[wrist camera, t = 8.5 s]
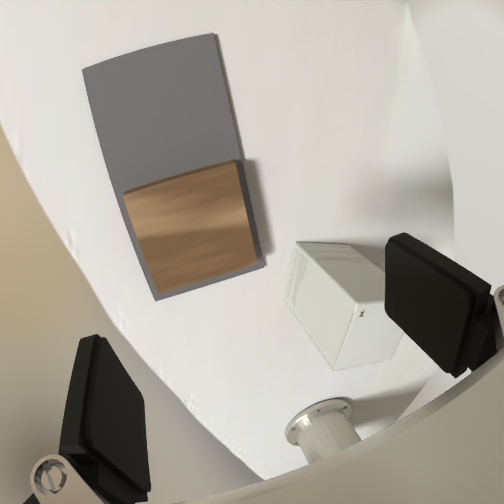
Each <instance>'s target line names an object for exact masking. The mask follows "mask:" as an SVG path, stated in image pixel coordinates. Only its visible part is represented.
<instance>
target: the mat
mask: <svg viewBox="0 0 504 504" xmlns="http://www.w3.org/2000/svg"><path fill="white" fill-rule="evenodd" d="M82 72H83V77H84V82H85V86H86V91H87V95H88V99H89V104H90V108H91V112H92V116H93V120H94V124H95V128H96V131H97V135H98V139H99V142H100V146H101V150H102V153H103V157H104V160H105V163H106V167H107V170H108V173H109V177H110V180H111V183H112V186H113V189H114V192H115V195H116V199H117V202H118V205H119V208H120V210H121V213H122V216H123V219H124V222H125V225H126V228H127V230H128V233H129V236H130V239H131V241H132V244H133V247H134V249H135V252H136V255H137V257H138V260H139V263H140V265H141V268H142V270H143V273H144V275H145V278H146V280H147V283H148V285H149V287H150V290H151V292H152V295H153V297H154V299H155V301H158V300H162V299H165V298H168V297H172V296H175V295H178V294H181V293H185V292H188V291H191V290H194V289H197V288H201V287H204V286H207V285H210V284H214V283H217V282H220V281H223V280H226V279H229V278H233V277H236V276H239V275H242V274H245V273H248V272H252V271H255V270H258V269H261V268H264V263H263V258H262V253H261V248H260V244H259V239H258V234H257V229H256V225H255V220H254V215H253V211H252V206H251V201H250V196H249V192H248V187H247V182H246V178H245V173H244V169H243V164H242V159H241V155H240V150H239V145H238V141H237V136H236V132H235V127H234V123H233V118H232V113H231V109H230V104H229V100H228V95H227V91H226V86H225V82H224V77H223V73H222V68H221V64H220V59H219V55H218V50H217V46H216V42H215V37H214V33H210V34H204V35H199V36H194V37H189V38H184V39H180V40H176V41H171V42H167V43H163V44H159V45H155V46H151V47H148V48H144V49H141V50H137V51H134V52H131V53H127V54H124V55H121V56H118V57H115V58H112V59H109V60H106V61H103V62H100V63H97V64H95V65H92V66H89V67H87V68H84V69H82ZM227 160H232V161H234V162H235V163H236V168H237V172H238V177H239V181H240V186H241V190H242V195H243V199H244V204H245V208H246V213H247V217H248V222H249V226H250V231H251V235H252V240H253V245H254V249H255V254H256V258H257V264H254V265H251V266H247V267H244V268H241V269H238V270H235V271H232V272H228V273H225V274H222V275H219V276H216V277H212V278H209V279H206V280H203V281H200V282H196V283H193V284H190V285H187V286H183V287H180V288H177V289H174V290H170V291H167V292H164V293H161V294H158V291H157V289H156V286H155V284H154V281H153V279H152V276H151V274H150V271H149V269H148V266H147V263H146V261H145V258H144V255H143V253H142V250H141V247H140V245H139V242H138V239H137V236H136V234H135V231H134V228H133V225H132V222H131V219H130V216H129V213H128V210H127V207H126V204H125V201H124V198H123V194H124V192H125V191H126V190H129V189H132V188H135V187H138V186H141V185H144V184H147V183H151V182H154V181H157V180H160V179H163V178H167V177H170V176H173V175H177V174H180V173H183V172H187V171H190V170H194V169H197V168H201V167H205V166H208V165H212V164H216V163H219V162H223V161H227Z"/></svg>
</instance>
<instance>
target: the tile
mask: <svg viewBox="0 0 504 504" xmlns="http://www.w3.org/2000/svg"><path fill="white" fill-rule="evenodd" d="M123 198H124V201H125V204H126V207H127V210H128V213H129V216H130V219H131V222H132V225H133V228H134V231H135V234H136V236H137V239H138V242H139V245H140V247H141V250H142V253H143V255H144V258H145V261H146V263H147V266H148V269H149V271H150V274H151V276H152V279H153V281H154V284H155V286H156V289H157V291H158V294H161V293H164V292H167V291H170V290H174V289H177V288H180V287H183V286H187V285H190V284H193V283H196V282H200V281H203V280H206V279H209V278H212V277H216V276H219V275H222V274H225V273H228V272H232V271H235V270H238V269H241V268H244V267H247V266H251V265H254V264H257V258H256V254H255V249H254V245H253V240H252V235H251V231H250V226H249V222H248V217H247V213H246V208H245V204H244V199H243V195H242V190H241V186H240V181H239V177H238V172H237V168H236V163H235V162H234V161H232V160H227V161H223V162H219V163H216V164H212V165H208V166H205V167H201V168H197V169H194V170H190V171H187V172H183V173H180V174H177V175H173V176H170V177H167V178H163V179H160V180H157V181H154V182H151V183H147V184H144V185H141V186H138V187H135V188H132V189H129V190H126V191H125V192H124V194H123Z"/></svg>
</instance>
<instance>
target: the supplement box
mask: <svg viewBox="0 0 504 504" xmlns="http://www.w3.org/2000/svg"><path fill="white" fill-rule="evenodd" d="M283 300H284V301H285V303H286V304H287V306H288V307H289V309H290V310H291V311H292V313H293V314H294V316H295V317H296V319H297V320H298V321H299V323H300V324H301V326H302V327H303V329H304V330H305V332H306V333H307V334H308V336H309V337H310V339H311V340H312V342H313V343H314V344H315V346H316V347H317V349H318V350H319V352H320V353H321V354H322V356H323V357H324V359H325V360H326V362H327V363H328V365H329V366H330V367H331V369H332V370H333V371H339V370H344V369H349V368H355V367H360V366H365V365H370V364H375V363H379V362H384V361H389V360H392V358H393V356H394V353H395V351H396V349H397V347H398V345H399V343H400V340H401V338H402V336H403V334H404V331H403V330H402V329H401V328H400V327H399V326H398V325H397V324H396V323H395V322H394V321H393V320H391V319H390V318H389V317H388V315H387V314H386V312H385V308H384V303H385V272H384V271H382V270H381V269H380V268H379V267H377V266H376V265H375V264H373V263H372V262H371V261H369V260H368V259H367V258H365V257H364V256H363V255H361V254H360V253H359V252H357V251H356V250H355V249H353V248H352V247H351V246H350V245H342V244H322V243H300V242H296V243H295V247H294V251H293V256H292V261H291V265H290V270H289V274H288V279H287V283H286V288H285V292H284V298H283Z"/></svg>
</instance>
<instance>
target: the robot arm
mask: <svg viewBox="0 0 504 504" xmlns="http://www.w3.org/2000/svg"><path fill="white" fill-rule="evenodd" d="M490 290H491V285H490V284H488V283H487V282H486V281H484V280H483V279H481V278H479V277H478V276H476V275H475V274H473V273H472V272H470V271H469V270H467V269H466V268H464V267H462V266H460V265H459V264H458V263H456V262H454V261H453V260H451V259H449V258H448V257H446V256H445V255H443V254H441V253H440V252H438V251H436V250H435V249H433V248H431V247H430V246H428V245H426V244H424V243H423V242H421V241H419V240H418V239H416V238H414V237H412V236H411V235H409V234H407V233H401V234H398V235H395V236H393V237H390V238H389V240H388V243H387V244H386V246H385V303H384V308H385V312H386V314H387V315H388V317H389V318H390V319H391V320H393V321H394V322H395V323H396V324H397V325H398V326H399V327H400V328H401V329H402V330H403V331H404V332H405V333H406V334H407V335H408V336H409V337H410V338H411V339H412V340H413V341H414V342H415V343H416V344H417V345H418V346H419V347H420V348H421V349H422V350H423V351H424V352H425V353H426V354H427V355H428V356H429V357H430V358H431V359H432V360H433V361H434V362H435V363H436V364H437V365H438V366H439V367H440V368H441V369H442V370H443V371H444V372H446V373H450V374H451V375H452V376H454V378H457V377H459V376H460V375H461V374H463V373H464V372H465V371H466V370H467V368H470V370H471V374H470V375H468V376H467V377H466V378H464V379H463V380H462V381H460V382H459V383H458V384H456V385H455V386H453V387H452V388H450V389H449V390H447V391H446V392H444V393H443V394H441V395H440V396H439V397H437V398H435V399H434V400H432V401H431V402H429V403H428V404H426V405H425V406H423V407H421V408H420V409H418V410H417V411H415V412H414V413H412V414H410V415H408V416H407V417H405V418H403V419H402V420H400V421H398V422H397V423H394V424H393V425H391V426H389V427H387V428H385V429H384V430H382V431H380V432H378V433H376V434H374V435H372V436H370V437H368V438H366V439H365V440H363V441H362V440H361V438H360V437H359V435H358V434H357V432H356V431H355V429H354V427H353V426H352V424H351V423H350V421H349V419H350V417H351V415H352V408H351V406H350V405H349V403H348V402H347V401H345V400H341V399H332V400H327V401H323V402H320V403H318V404H315V405H313V406H311V407H309V408H307V409H306V410H304V411H302V412H301V413H300V414H298V415H297V416H296V417H295V418H294V419H293V420H292V421H291V422H290V423H289V424H288V426H287V428H286V431H285V436H286V438H287V441H288V442H289V443H290V444H292V445H295V446H300V447H301V449H302V451H303V453H304V455H305V457H306V460H307V462H308V464H309V465H307V466H304V467H301V468H299V469H296V470H294V471H291V472H288V473H285V474H283V475H280V476H277V477H274V478H271V479H268V480H265V481H262V482H259V483H256V484H253V485H249V486H246V487H242V488H239V489H235V490H231V491H228V492H224V493H220V494H216V495H212V496H207V497H203V498H198V499H194V500H189V501H185V502H179V503H174V504H504V285H503V286H501V287H498V288H497V289H496V290H495V292H494V295H493V296H492V295H491V294H490ZM144 408H145V407H144V399H143V396H142V394H141V392H140V391H139V389H138V388H137V387H136V385H135V383H134V382H133V380H132V379H131V377H130V376H129V375H128V373H127V371H126V370H125V368H124V367H123V365H122V363H121V362H120V360H119V359H118V357H117V355H116V354H115V352H114V351H113V349H112V347H111V345H110V344H109V342H108V341H107V339H106V338H105V337H102V338H101V337H100V336H99V335H98V334H95V335H92V336H88V337H85V338H82V339H80V341H79V345H78V349H77V353H76V357H75V362H74V367H73V371H72V376H71V380H70V385H69V390H68V395H67V400H66V406H65V412H64V418H63V424H62V431H61V438H60V445H59V454H58V455H57V454H56V455H55V454H51V455H47V456H44V457H43V458H42V459H40V460H39V461H38V462H37V463H36V464H35V465H34V468H33V469H32V471H31V476H30V485H31V488H32V490H33V492H34V493H33V494H32V495H31V496H30V497H29V498H28V499H27V500H26V501H25V502H24V503H23V504H135V503H137V502H146V501H148V497H147V492H150V491H151V482H150V474H149V464H148V452H147V440H146V425H145V409H144Z"/></svg>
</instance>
